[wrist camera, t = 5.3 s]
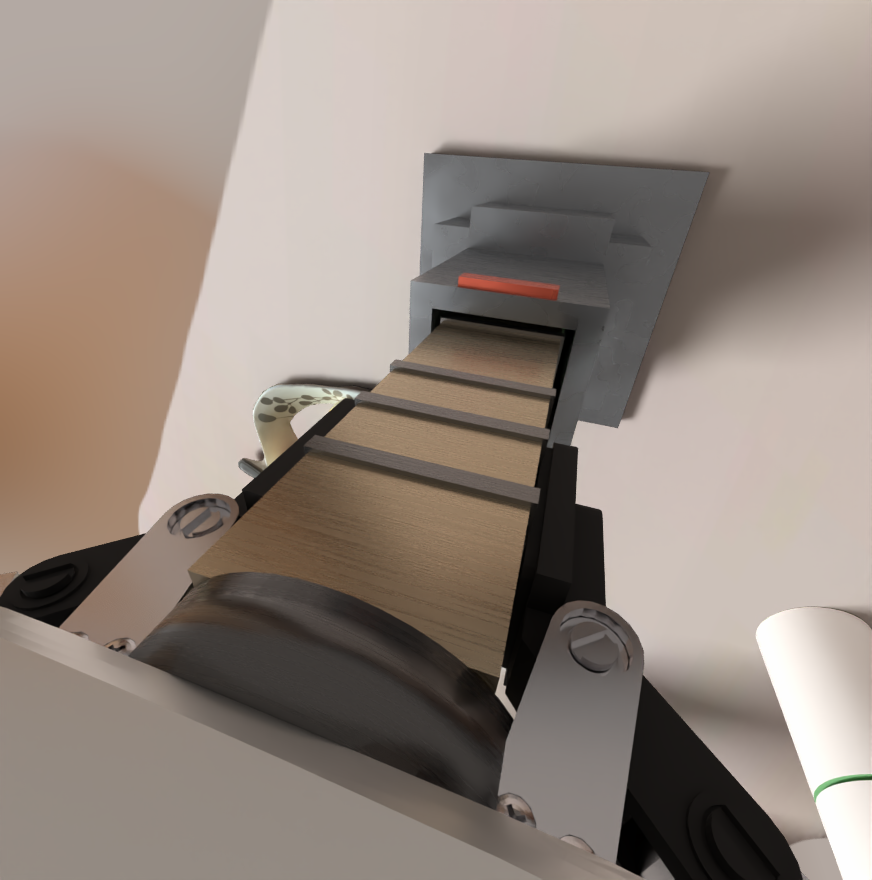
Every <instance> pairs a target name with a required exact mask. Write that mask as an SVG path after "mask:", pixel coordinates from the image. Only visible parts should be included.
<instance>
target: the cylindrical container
mask: <svg viewBox="0 0 872 880" xmlns="http://www.w3.org/2000/svg"><path fill="white" fill-rule="evenodd" d="M756 640H757V643H758V645H759V648H760V651H761V654H762V657H763V659H764V662H765V665H766V668H767V670H768V673H769V676H770V679H771V682H772V684H773V687H774V690H775V693H776V695H777V698H778V701H779V704H780V706H781V709H782V712H783V715H784V718H785V720H786V723H787V726H788V729H789V731H790V734H791V737H792V740H793V742H794V745H795V748H796V751H797V754H798V756H799V759H800V762H801V765H802V767H803V770H804V773H805V776H806V779H807V781H808V784H809V787H810V790H811V792H812V795H813V798H814V801H815V803H816V806H817V809H818V812H819V815H820V817H821V820H822V823H823V826H824V828H825V831H826V834H827V837H828V840H829V842H830V845H831V848H832V851H833V853H834V856H835V859H836V862H837V864H838V867H839V870H840V873H841V875H842V878H843V880H872V629H871V628H870V627H869V625H868V624H867V623H865V622H864V621H863V620H862V619H860V618H858V617H856V616H854V615H852V614H849V613H847V612H844V611H840V610H836V609H831V608H822V607H802V608H793V609H789V610H785V611H781V612H779V613H776V614H774V615H772V616H770V617H768V618H767V619H765V620H764V621H763V622H762V623H761V624H760V626H759V627H758V629H757V632H756Z"/></svg>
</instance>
